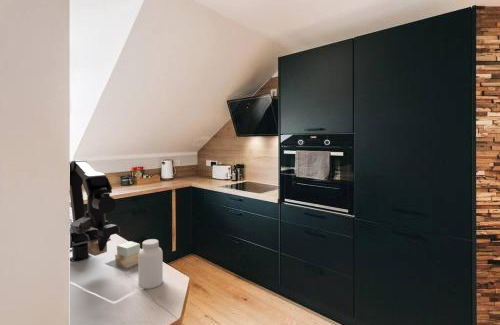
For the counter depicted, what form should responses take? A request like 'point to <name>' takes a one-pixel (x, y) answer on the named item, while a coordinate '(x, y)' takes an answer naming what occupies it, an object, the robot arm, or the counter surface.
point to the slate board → (112, 263)
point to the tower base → (126, 260)
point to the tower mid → (128, 249)
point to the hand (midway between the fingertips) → (97, 249)
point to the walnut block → (95, 248)
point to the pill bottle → (150, 264)
